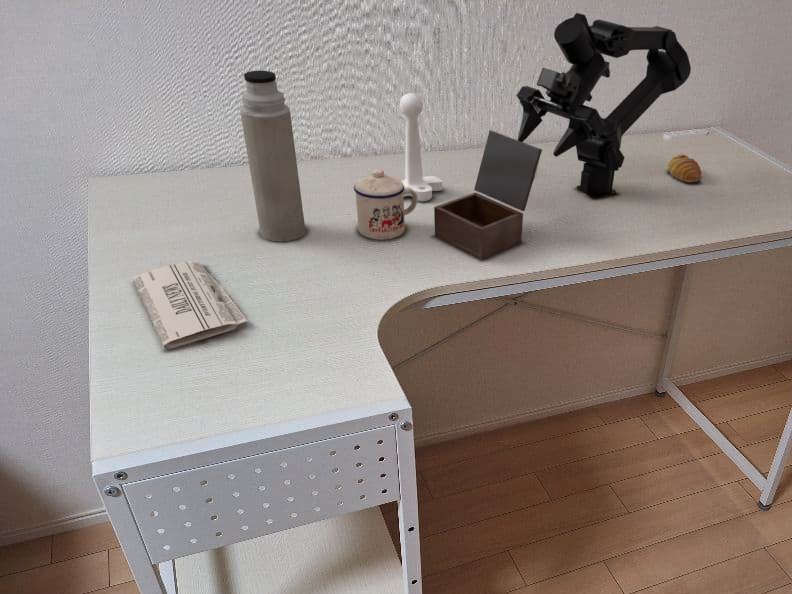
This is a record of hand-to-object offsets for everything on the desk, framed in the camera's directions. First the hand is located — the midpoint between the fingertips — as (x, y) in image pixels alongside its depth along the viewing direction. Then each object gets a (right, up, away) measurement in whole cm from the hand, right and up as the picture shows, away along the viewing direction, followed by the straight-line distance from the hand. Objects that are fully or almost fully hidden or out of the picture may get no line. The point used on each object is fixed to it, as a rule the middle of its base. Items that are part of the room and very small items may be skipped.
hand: (536, 148), depth 146 cm
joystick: (-25, -6, +13) cm, 29 cm away
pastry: (+34, +4, +32) cm, 47 cm away
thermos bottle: (-47, -17, -4) cm, 50 cm away
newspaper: (-54, -33, -26) cm, 69 cm away
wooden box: (-11, -18, -1) cm, 21 cm away
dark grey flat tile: (-6, -6, -4) cm, 9 cm away
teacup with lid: (-28, -16, 0) cm, 32 cm away
